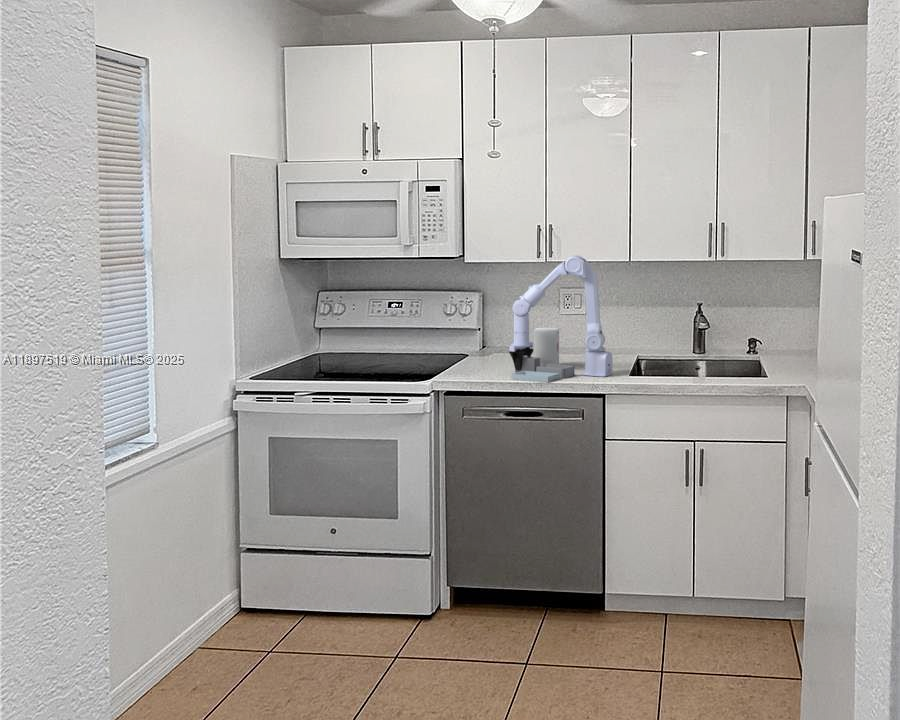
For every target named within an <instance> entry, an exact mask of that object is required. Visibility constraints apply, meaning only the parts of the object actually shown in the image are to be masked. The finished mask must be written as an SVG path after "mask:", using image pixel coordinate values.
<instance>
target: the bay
mask: <svg viewBox="0 0 900 720" xmlns="http://www.w3.org/2000/svg"><path fill="white" fill-rule="evenodd" d="M536 372H547V373H560V379H563V378H564V379H567V378H570V376H571V377H573V375H574V376H575V365H569V364H568V365H566V364H559V365H556V364H546V367H539V366H537V367H536ZM566 377H567V378H566Z"/></svg>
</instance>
